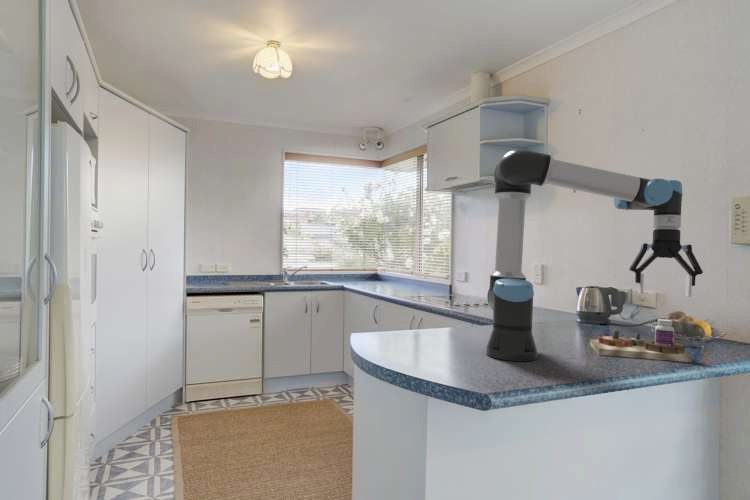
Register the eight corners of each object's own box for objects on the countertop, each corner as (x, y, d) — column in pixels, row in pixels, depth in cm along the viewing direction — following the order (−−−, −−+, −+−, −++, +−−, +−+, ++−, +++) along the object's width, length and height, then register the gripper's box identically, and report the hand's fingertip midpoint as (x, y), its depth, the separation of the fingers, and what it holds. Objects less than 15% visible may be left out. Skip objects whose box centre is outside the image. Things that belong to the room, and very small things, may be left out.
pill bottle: (677, 352, 148) (678, 321, 148) (658, 351, 149) (659, 320, 149) (669, 348, 153) (670, 319, 153) (651, 347, 154) (652, 318, 154)
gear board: (599, 354, 150) (599, 334, 150) (590, 344, 167) (590, 326, 167) (692, 362, 143) (692, 341, 143) (673, 351, 160) (673, 332, 160)
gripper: (626, 227, 151) (624, 293, 151) (716, 229, 144) (713, 298, 144) (621, 228, 158) (618, 291, 158) (706, 230, 151) (704, 296, 151)
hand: (664, 295), depth 151 cm, fingers open, 13 cm apart
